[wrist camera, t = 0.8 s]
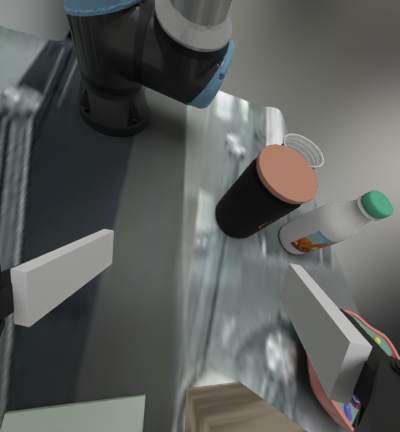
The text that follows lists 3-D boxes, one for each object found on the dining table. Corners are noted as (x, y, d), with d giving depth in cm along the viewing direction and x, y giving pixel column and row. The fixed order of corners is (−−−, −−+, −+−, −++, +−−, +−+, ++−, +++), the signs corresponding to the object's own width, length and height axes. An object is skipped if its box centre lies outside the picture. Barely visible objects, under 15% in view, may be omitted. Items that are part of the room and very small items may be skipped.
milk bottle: (272, 237, 46) (357, 195, 28) (287, 219, 49) (370, 173, 32) (295, 262, 45) (397, 235, 27) (309, 242, 48) (406, 207, 31)
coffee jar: (242, 249, 42) (307, 216, 26) (205, 218, 42) (247, 167, 27) (262, 217, 47) (325, 174, 32) (228, 189, 47) (275, 133, 32)
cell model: (343, 462, 31) (439, 533, 22) (267, 349, 35) (319, 366, 25) (378, 377, 39) (458, 401, 30) (313, 291, 43) (365, 288, 33)
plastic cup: (280, 162, 58) (312, 132, 48) (294, 193, 54) (332, 167, 44) (250, 162, 54) (278, 128, 44) (263, 196, 50) (297, 167, 40)
